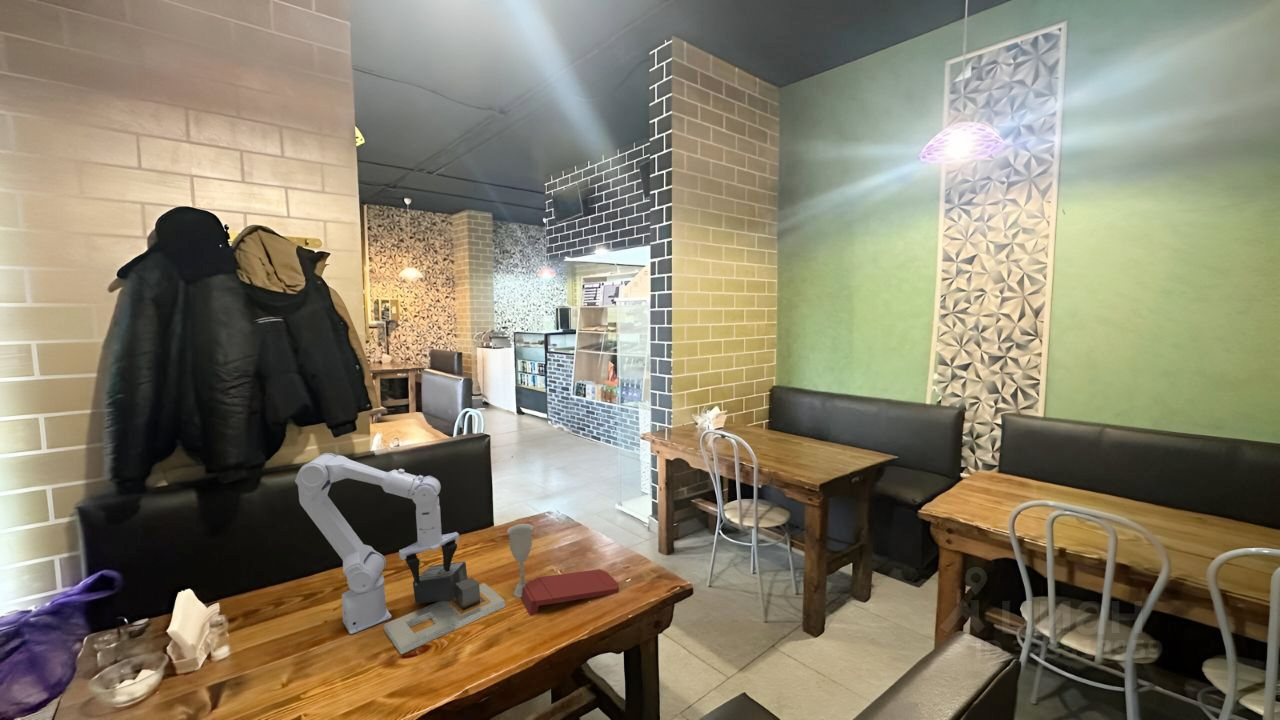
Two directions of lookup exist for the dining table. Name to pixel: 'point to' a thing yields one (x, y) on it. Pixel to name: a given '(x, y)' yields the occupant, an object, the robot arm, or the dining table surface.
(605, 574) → the carton
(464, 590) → the post
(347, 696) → the dining table surface
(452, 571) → the small box
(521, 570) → the chalice
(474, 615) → the rail plate
